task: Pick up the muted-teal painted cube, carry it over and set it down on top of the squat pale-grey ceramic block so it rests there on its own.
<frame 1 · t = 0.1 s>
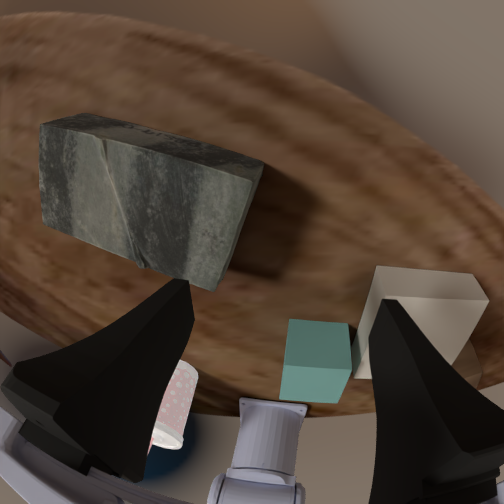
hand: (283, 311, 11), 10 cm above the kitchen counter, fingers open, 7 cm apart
teal cube: (314, 340, 25), on the kitchen counter
stone block: (155, 185, 21), on the kitchen counter
ceramic base: (411, 314, 22), on the kitchen counter
beverage cup: (179, 369, 31), on the kitchen counter
walnut cube: (447, 357, 24), on the kitchen counter
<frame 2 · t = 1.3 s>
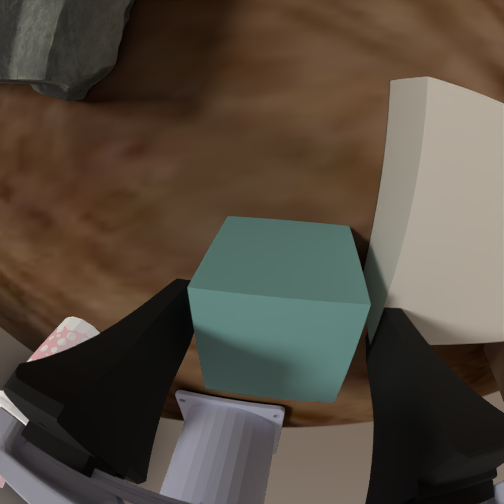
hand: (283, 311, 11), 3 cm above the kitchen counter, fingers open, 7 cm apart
teal cube: (284, 271, 13), on the kitchen counter
stone block: (42, 17, 8), on the kitchen counter
ceramic base: (469, 209, 10), on the kitchen counter
beverage cup: (88, 338, 19), on the kitchen counter
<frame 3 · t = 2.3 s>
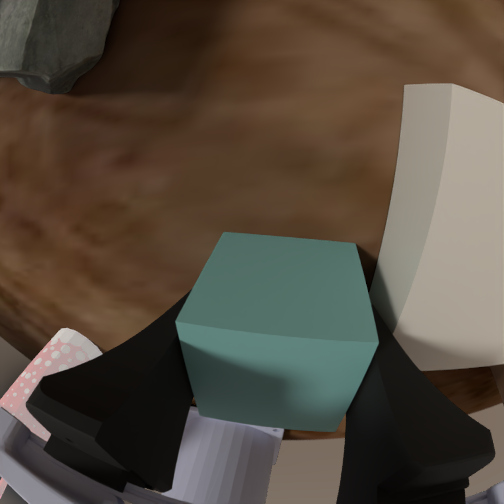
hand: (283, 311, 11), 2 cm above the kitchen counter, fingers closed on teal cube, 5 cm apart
teal cube: (285, 290, 12), on the kitchen counter, touching gripper
stone block: (31, 7, 7), on the kitchen counter
ceramic base: (483, 224, 9), on the kitchen counter
beverage cup: (83, 349, 18), on the kitchen counter
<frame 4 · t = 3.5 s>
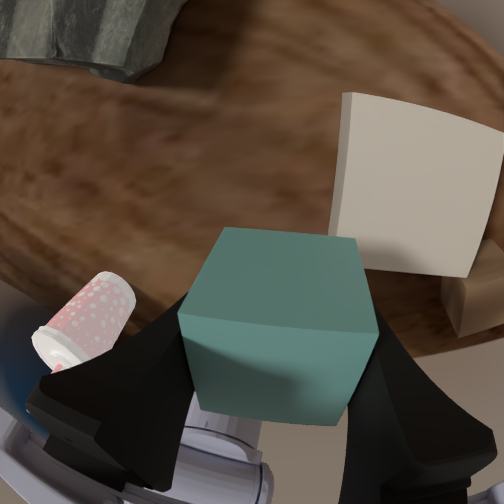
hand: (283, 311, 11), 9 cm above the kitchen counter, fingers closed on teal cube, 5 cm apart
teal cube: (285, 285, 12), point 7 cm above the kitchen counter, touching gripper
stone block: (97, 18, 13), on the kitchen counter
ceramic base: (406, 178, 16), on the kitchen counter
beverage cup: (115, 291, 25), on the kitchen counter
walnut cube: (465, 269, 18), on the kitchen counter
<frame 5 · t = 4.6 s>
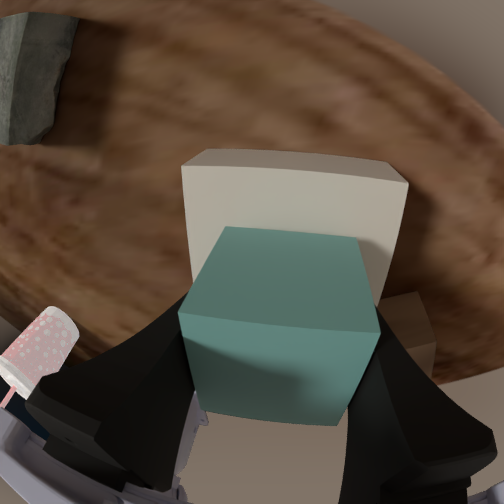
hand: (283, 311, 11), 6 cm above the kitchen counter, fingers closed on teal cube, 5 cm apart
teal cube: (286, 285, 12), point 4 cm above the kitchen counter, touching gripper
stone block: (12, 77, 13), on the kitchen counter
ceramic base: (292, 234, 16), on the kitchen counter
beverage cup: (63, 322, 25), on the kitchen counter
walnut cube: (386, 322, 18), on the kitchen counter
when the fingers open (6 cm above the kitchen counter, at t = 5.2 s): teal cube stays where it is, resting on ceramic base.
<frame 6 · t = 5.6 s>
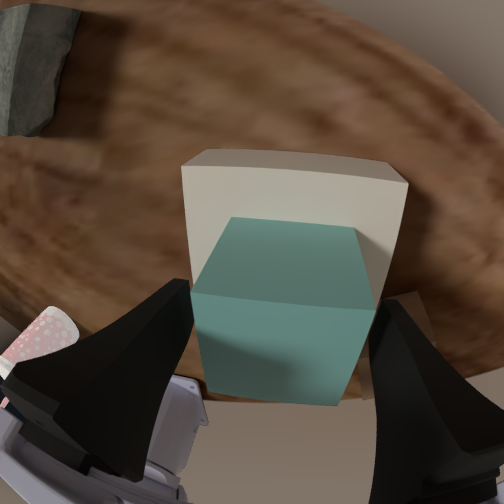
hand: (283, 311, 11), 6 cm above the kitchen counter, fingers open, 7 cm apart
teal cube: (288, 273, 13), point 3 cm above the kitchen counter, touching ceramic base
stone block: (13, 70, 13), on the kitchen counter
ceramic base: (292, 234, 16), on the kitchen counter
beverage cup: (63, 322, 25), on the kitchen counter
walnut cube: (386, 322, 18), on the kitchen counter
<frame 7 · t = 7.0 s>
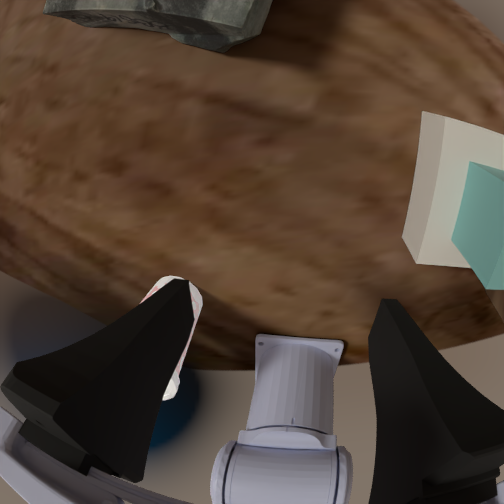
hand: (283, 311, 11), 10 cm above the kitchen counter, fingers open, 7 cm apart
teal cube: (490, 207, 13), point 3 cm above the kitchen counter, touching ceramic base
ceramic base: (467, 186, 16), on the kitchen counter
beverage cup: (179, 295, 26), on the kitchen counter
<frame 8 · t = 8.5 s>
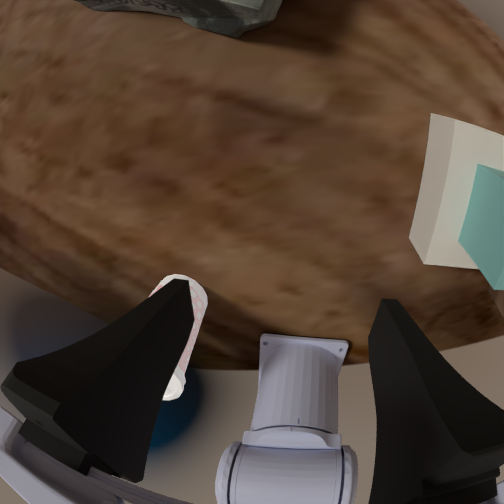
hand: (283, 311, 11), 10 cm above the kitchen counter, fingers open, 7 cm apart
teal cube: (496, 209, 13), point 3 cm above the kitchen counter, touching ceramic base
ceramic base: (473, 188, 16), on the kitchen counter
beverage cup: (183, 294, 26), on the kitchen counter
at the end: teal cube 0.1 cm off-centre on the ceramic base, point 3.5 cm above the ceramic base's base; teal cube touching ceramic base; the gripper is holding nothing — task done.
